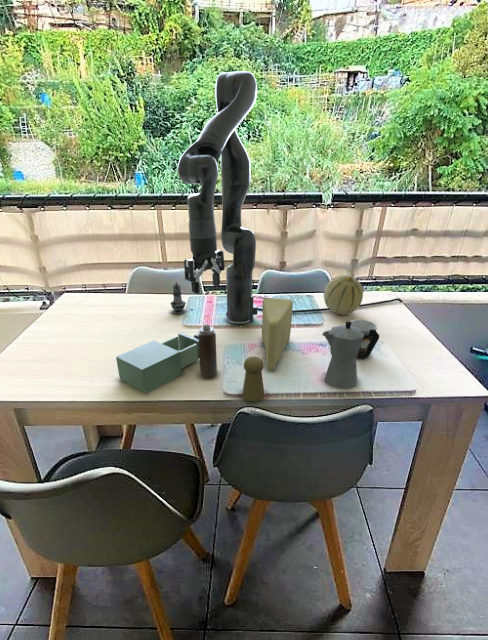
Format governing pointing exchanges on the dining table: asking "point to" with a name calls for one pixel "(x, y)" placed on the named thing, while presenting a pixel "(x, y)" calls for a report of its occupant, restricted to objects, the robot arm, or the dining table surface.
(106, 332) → the dining table surface
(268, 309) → the cheese
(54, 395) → the dining table surface
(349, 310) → the cantaloupe
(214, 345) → the pepper mill
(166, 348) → the cabinet
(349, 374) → the coffeepot
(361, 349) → the coffee mug
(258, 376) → the olive rounded tall piece
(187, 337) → the drawer
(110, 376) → the dining table surface
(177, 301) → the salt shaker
